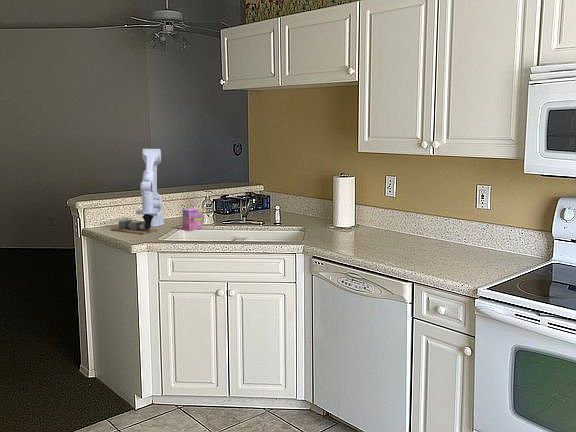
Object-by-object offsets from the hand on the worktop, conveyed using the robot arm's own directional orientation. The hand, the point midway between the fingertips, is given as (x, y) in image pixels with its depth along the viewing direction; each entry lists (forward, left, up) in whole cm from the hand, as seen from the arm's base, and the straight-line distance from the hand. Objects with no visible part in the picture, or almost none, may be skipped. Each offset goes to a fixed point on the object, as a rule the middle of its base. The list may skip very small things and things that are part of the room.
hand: (148, 228), depth 315 cm
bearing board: (0, -10, -2) cm, 10 cm away
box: (-20, +15, -3) cm, 25 cm away
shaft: (0, -10, -1) cm, 10 cm away
